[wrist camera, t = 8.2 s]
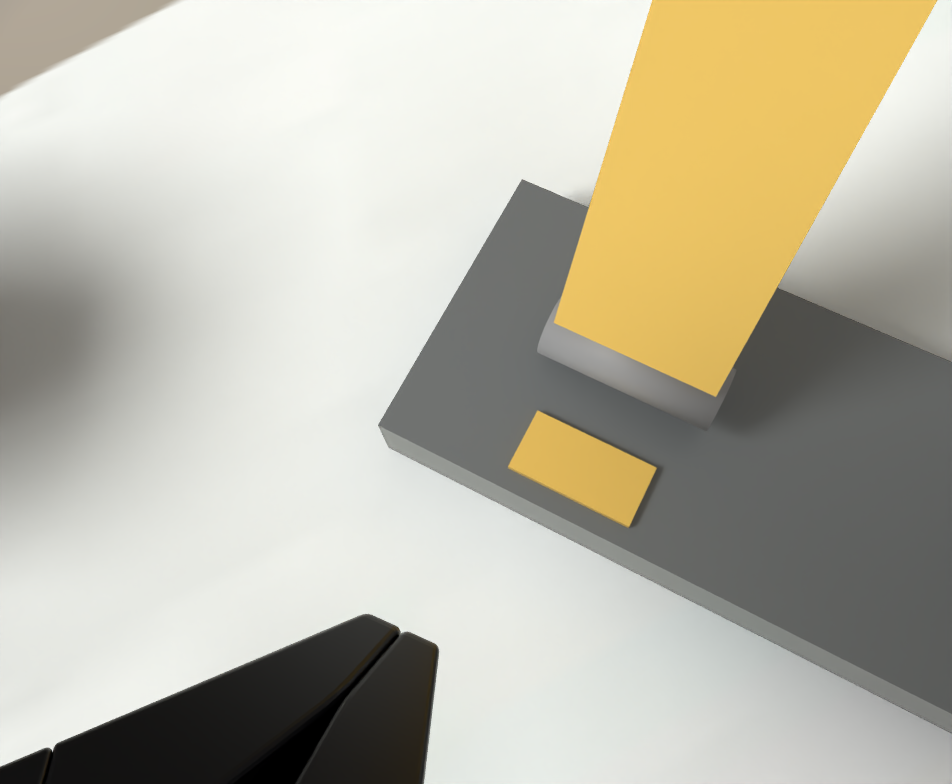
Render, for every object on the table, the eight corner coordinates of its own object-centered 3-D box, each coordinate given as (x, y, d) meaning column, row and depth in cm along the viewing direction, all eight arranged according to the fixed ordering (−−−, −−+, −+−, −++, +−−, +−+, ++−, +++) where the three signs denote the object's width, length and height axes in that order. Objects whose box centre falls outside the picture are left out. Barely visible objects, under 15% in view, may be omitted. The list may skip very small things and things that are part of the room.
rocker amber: (699, 443, 20) (951, 3, 12) (532, 365, 21) (667, -95, 13) (717, 400, 21) (961, -33, 13) (557, 326, 22) (697, -122, 14)
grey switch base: (1266, 541, 22) (1344, 524, 20) (1192, 855, 20) (1272, 873, 18) (521, 217, 26) (522, 175, 24) (388, 447, 24) (376, 423, 22)
